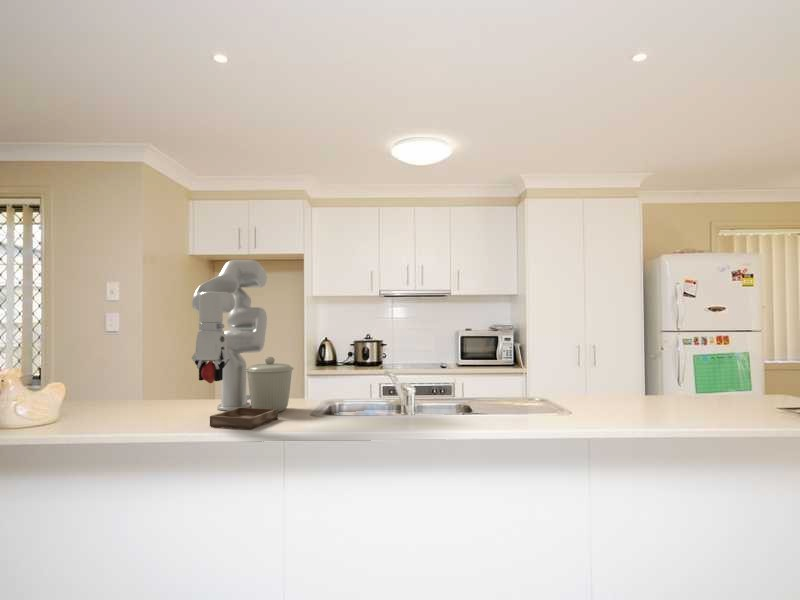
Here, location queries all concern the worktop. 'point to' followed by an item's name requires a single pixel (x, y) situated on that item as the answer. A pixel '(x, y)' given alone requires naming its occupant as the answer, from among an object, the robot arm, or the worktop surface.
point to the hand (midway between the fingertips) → (210, 379)
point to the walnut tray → (244, 418)
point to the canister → (269, 384)
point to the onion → (209, 372)
